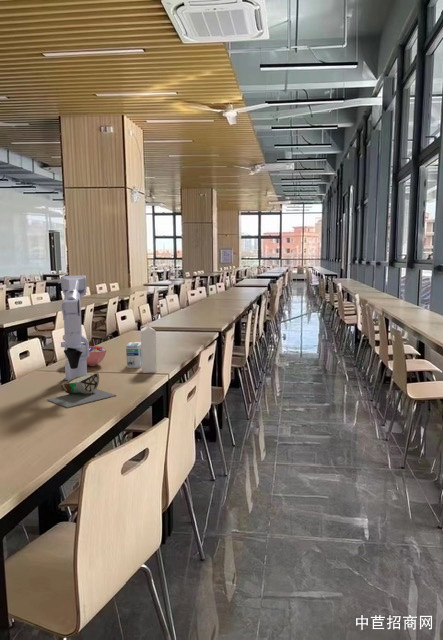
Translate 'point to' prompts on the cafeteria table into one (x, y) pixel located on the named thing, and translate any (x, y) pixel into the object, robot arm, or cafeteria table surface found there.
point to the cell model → (95, 355)
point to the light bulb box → (133, 355)
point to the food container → (81, 384)
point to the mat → (80, 398)
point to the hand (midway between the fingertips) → (74, 368)
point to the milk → (148, 349)
